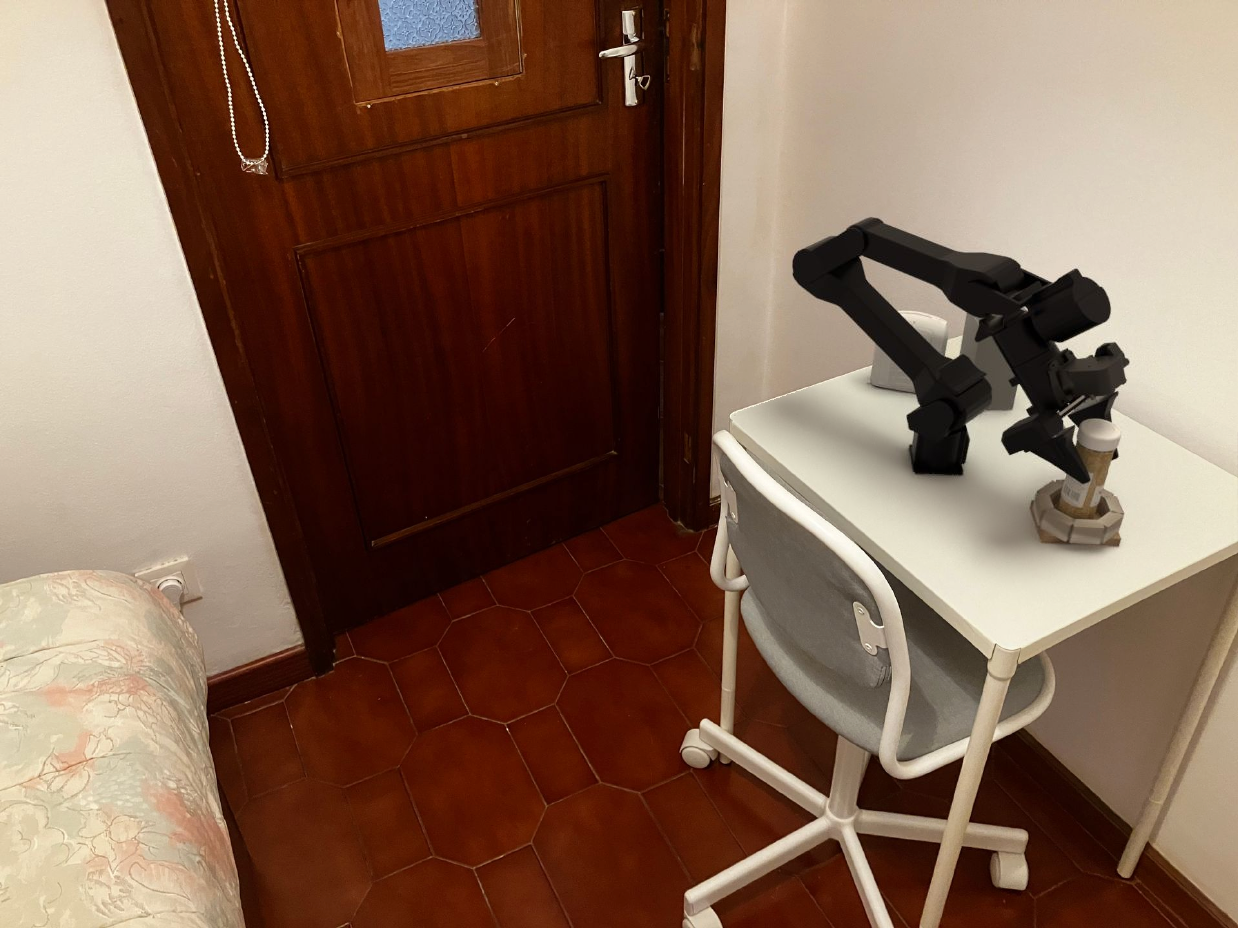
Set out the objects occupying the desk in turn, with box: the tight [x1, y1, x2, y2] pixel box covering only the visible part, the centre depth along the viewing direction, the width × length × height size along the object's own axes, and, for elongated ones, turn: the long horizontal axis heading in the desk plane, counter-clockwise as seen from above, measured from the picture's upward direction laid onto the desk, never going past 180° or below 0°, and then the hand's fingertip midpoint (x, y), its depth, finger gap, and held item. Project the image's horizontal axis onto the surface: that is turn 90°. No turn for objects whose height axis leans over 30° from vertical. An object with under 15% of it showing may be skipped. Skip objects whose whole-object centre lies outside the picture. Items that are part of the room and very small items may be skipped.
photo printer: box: [870, 310, 949, 394], centre depth 151 cm, size 10×4×12 cm, turn 69°
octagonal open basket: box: [1029, 479, 1125, 547], centre depth 125 cm, size 10×10×4 cm
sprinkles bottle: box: [1056, 419, 1122, 520], centre depth 121 cm, size 5×5×13 cm
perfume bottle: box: [958, 307, 1027, 412], centre depth 146 cm, size 7×7×18 cm
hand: (1101, 470), depth 120 cm, fingers open, 6 cm apart
